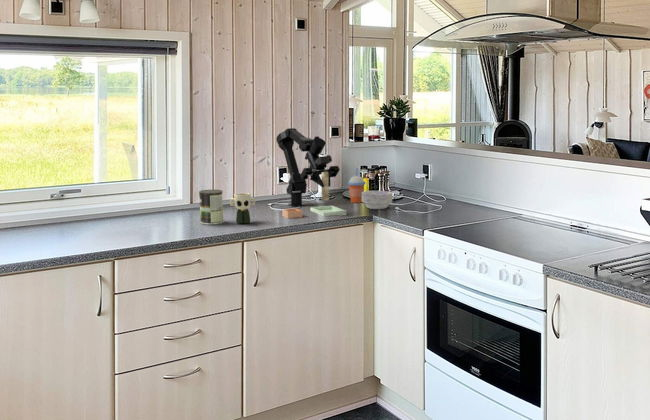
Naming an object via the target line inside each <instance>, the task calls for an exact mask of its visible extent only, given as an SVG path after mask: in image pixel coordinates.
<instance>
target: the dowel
mask: <svg viewBox="0 0 650 420" xmlns="http://www.w3.org/2000/svg"><path fill="white" fill-rule="evenodd" d="M321 180H322V182H323V185H324V187H321V201H329V200H330V199H329V198H330V197H329V195H330V193H329V185H328V172H322V174H321Z"/></svg>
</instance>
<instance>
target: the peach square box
mask: <svg viewBox="0 0 650 420" xmlns="http://www.w3.org/2000/svg"><path fill="white" fill-rule="evenodd" d="M281 211H282V214H281V215H282V217H284V218H286V219H296V218H303V210H302V209H299V208H296V207H295V208H285V209H282V210H281Z"/></svg>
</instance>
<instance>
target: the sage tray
mask: <svg viewBox="0 0 650 420" xmlns="http://www.w3.org/2000/svg"><path fill="white" fill-rule="evenodd" d="M309 209H310V212H312V213H315V214H318V215H320V216H322V217H327V216H329V217H331V216H340V217H342V216H347V210H346V209H342V208H340V207H337V206H334V205H325V206H324V205H323V206H312V207H311V206H310V208H309Z"/></svg>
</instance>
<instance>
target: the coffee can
mask: <svg viewBox="0 0 650 420" xmlns="http://www.w3.org/2000/svg"><path fill="white" fill-rule="evenodd" d="M223 192H224V191H223V190H222V189H203V190H199V191H198V195H199V217H200V224H201V225H205V226H206V225H207V226H209V225H210V226H214V225H220V224H223V223H224V222H225V221H224V205H223V204H224V203H223V201H224V200H223V198H224V197H223V194H224V193H223Z"/></svg>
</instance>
